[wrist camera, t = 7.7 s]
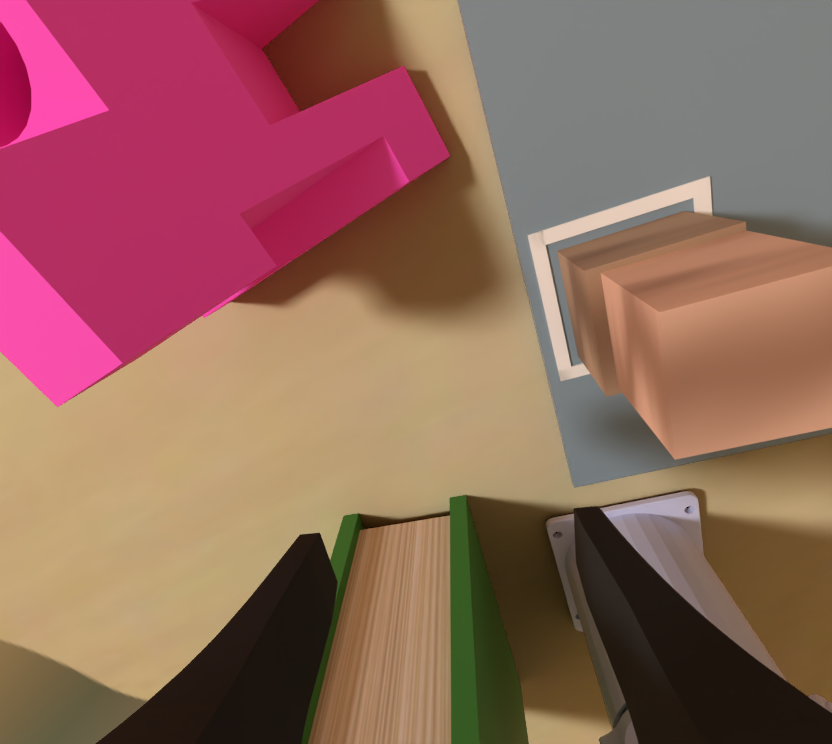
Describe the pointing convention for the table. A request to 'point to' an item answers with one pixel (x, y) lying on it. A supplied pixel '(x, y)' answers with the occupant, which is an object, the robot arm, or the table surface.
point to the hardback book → (415, 641)
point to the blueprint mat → (647, 156)
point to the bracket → (169, 172)
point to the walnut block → (617, 251)
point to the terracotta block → (725, 341)
